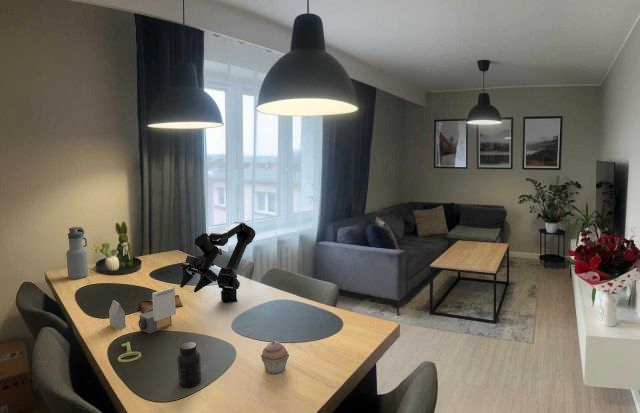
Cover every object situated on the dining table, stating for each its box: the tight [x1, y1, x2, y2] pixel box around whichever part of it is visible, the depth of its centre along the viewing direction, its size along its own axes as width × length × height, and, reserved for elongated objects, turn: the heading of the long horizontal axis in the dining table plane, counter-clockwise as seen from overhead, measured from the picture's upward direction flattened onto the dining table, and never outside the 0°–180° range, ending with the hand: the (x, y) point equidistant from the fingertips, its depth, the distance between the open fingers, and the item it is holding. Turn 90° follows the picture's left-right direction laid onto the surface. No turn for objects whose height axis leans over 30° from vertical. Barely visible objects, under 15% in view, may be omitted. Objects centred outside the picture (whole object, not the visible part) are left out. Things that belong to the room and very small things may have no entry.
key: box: [117, 341, 142, 363], centre depth 142 cm, size 7×12×2 cm, turn 46°
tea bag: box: [108, 299, 127, 331], centre depth 164 cm, size 4×7×10 cm, turn 46°
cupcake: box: [259, 339, 290, 375], centre depth 132 cm, size 9×9×10 cm
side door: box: [151, 286, 177, 321], centre depth 161 cm, size 9×2×11 cm, turn 144°
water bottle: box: [66, 226, 89, 280], centre depth 227 cm, size 10×10×28 cm
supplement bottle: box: [176, 341, 203, 389], centre depth 124 cm, size 7×7×12 cm
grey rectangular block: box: [137, 311, 173, 334], centre depth 163 cm, size 11×6×6 cm, turn 144°
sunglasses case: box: [138, 294, 184, 314], centre depth 185 cm, size 18×7×7 cm, turn 125°
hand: (187, 289), depth 170 cm, fingers open, 9 cm apart
